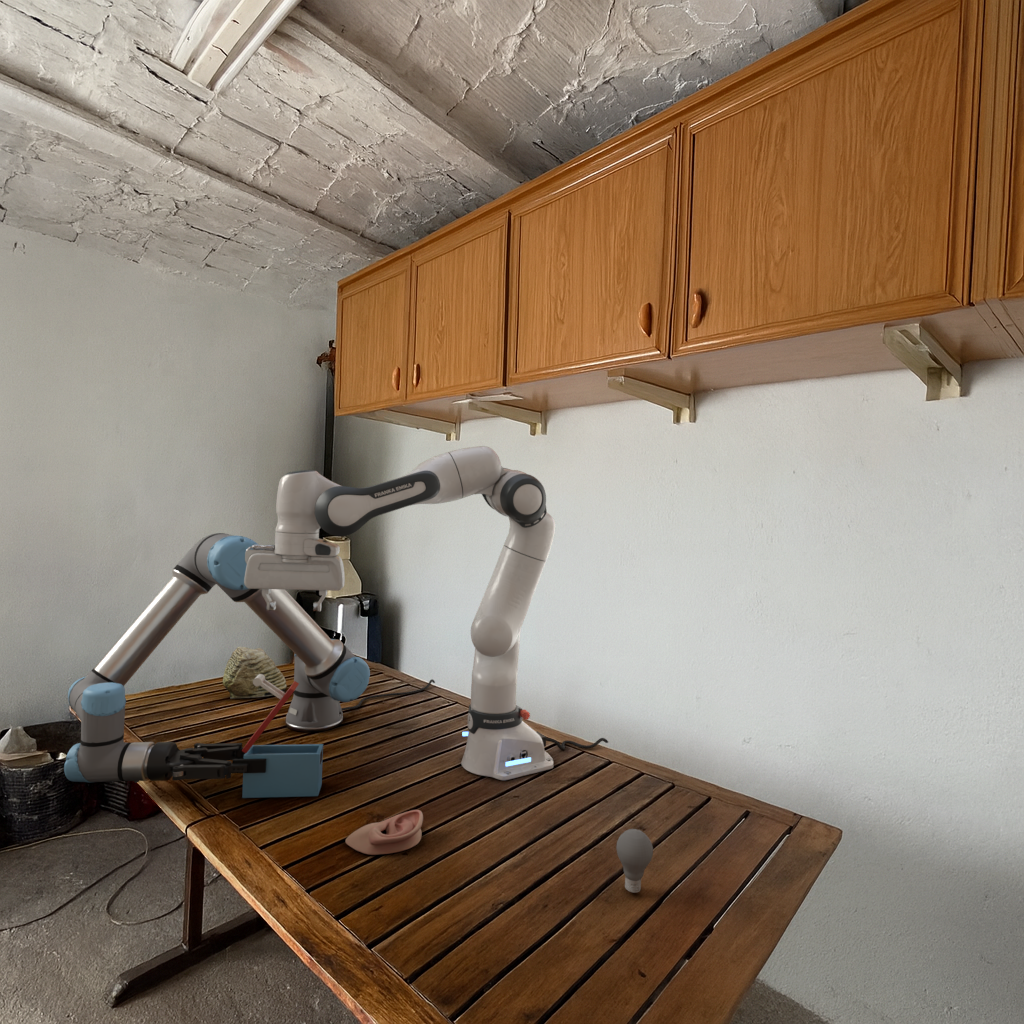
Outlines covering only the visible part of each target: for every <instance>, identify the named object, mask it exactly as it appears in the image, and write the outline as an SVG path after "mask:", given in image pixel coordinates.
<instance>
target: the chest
mask: <svg viewBox="0 0 1024 1024" xmlns="http://www.w3.org/2000/svg"><path fill="white" fill-rule="evenodd" d="M244 759H266V772H265V773H242V797H241V799H255V798H257V799H258V798H262V799H263V798H295V797H296V798H297V797H318V796H319V794H320V791H321V788H322V785H323V764H324V763H323V761H324V760H323V759H324V744H323V743H304V744H300V743H299V744H253V745H252V747H251V748H250V749H249V750H248V752H247V753H245V754H244Z"/></svg>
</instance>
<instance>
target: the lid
mask: <svg viewBox="0 0 1024 1024" xmlns="http://www.w3.org/2000/svg"><path fill="white" fill-rule="evenodd" d="M253 684H254V685H255V686H261V687H263V688H264V689H266V690H267V691H269V692H270V693H272V694H273V695H272V696H274V697H276V698H277V699H278V700H279V701H278V702H277V704H275V706H274V707H273V708H272V710H271V711H270V712H269V713H268V715H267V716H266V718H264V720H263V721H262V722H261V724H260V725H259V727H258V728H257V729H256V731H254V733H253V735H251V737H250V738H249V739H248V741H247V742H246V744H245V745H244V747H242V748H243V750H242V751H243V752H244V753H247V752H248V750H249V749H250V748H251V747H252V745H255V743H256V741H257V740H258V739H259V738H260V736H261V735H262V734H263V732H264V731H265V730H266V728H267V727H268V726H269V725H270V723H271V722H272V721H273V720H274V718H275V717H276V716H277V714H278V713H279V712H280V711H281V709H282V708H283V706H285V704H286V702H288V700H289V698H290V697H291V696H293V694H294V691H295V689H296V688H297V686H298V684H299V683H297V682H296V681H294V680H293V682H292V684H291V685H290V686H289V687H288V689H287V690H286V691H284V692H283V691H281V690H280V689H279V688H277V687H276V686H274V685H273V684H271V683H270V682H268V681H267V680H265V676H264V675H263V674H259V675H258V676H257V677H256V678H255V679H254V680H253Z"/></svg>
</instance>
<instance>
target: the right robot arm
mask: <svg viewBox="0 0 1024 1024" xmlns="http://www.w3.org/2000/svg"><path fill="white" fill-rule="evenodd" d="M473 495H481V497H483V499H484V501H485V502H486V504H487V505H488V506H489V507H490V508H491V509H492V510H494V511H496V512H497V513H498V514H499V515H502V516H504V517H506V518H507V517H508V520H509V529H508V533H507V536H506V539H505V541H504V543H503V545H502V549H501V551H500V554H499V556H498V558H497V562H496V564H495V567H494V569H493V571H492V575H491V577H490V580H489V581H488V585H487V586H486V588H485V591H484V593H483V596H482V598H481V601H480V603H479V606H478V608H477V611H476V613H475V615H474V618H473V621H472V624H471V627H470V639H471V642H472V645H473V647H474V656H473V664H472V671H471V689H470V703H469V705H468V713H467V730H468V731H462V733H461V734H462V735H461V736H462V737H467V738H466V745H465V749H464V753H463V756H462V758H461V762H460V765H461V767H462V768H463V769H464V770H465V771H467V772H469V773H472V774H474V775H478V776H482V777H490V778H493V779H496V780H500V781H509V780H512V779H516V778H520V777H524V776H529V775H532V774H536V773H542V772H544V771H549V770H552V769H553V768H554V767H555V765H554V763H555V762H554V758H553V757H552V756H551V755H550V754H549V753H548V752H547V751H546V750H545V747H547V742H550V743H553V744H555V745H556V746H557V747H558V749H560V750H561V751H564V750H565V749H566V745H572V746H575V747H578V748H580V749H585V750H589V749H593V748H596V747H597V746H598V745H599V744H600V743H602V742H604V743H605V744H608V743H609V741H608V740H607V738H605V737H600V738H598V739H597V740H595V742H594V743H592V744H587V745H585V744H581V743H578V742H575V741H574V740H563V741H562V742H561V743H560V742H559V741H557V740H556V739H554V738H551V737H547V736H545V735H544V734H542V733H541V732H539V731H538V730H537V731H536V730H534V728H533V727H531V726H530V725H528V724H527V723H526V722H525V721H527V720H529V719H530V718H531V713H530V712H529V711H528V710H527V709H523V708H522V707H521V706H519V705H517V693H518V691H517V690H518V673H519V671H518V670H519V661H520V659H519V658H520V644H521V630H522V628H523V627H522V626H523V624H524V621H525V619H526V616H527V614H528V611H529V608H530V606H531V603H532V600H533V597H534V595H535V593H536V590H537V587H538V584H539V582H540V580H541V576H542V574H543V571H544V569H545V566H546V563H547V560H548V559H549V555H550V553H551V549H552V546H553V542H554V538H555V537H554V536H555V532H556V521H555V519H554V518H553V516H552V515H551V514H550V513H548V512H547V494H546V489H545V488H544V486H543V483H542V482H541V481H540V480H539V479H538V478H536V476H534V475H531V474H528V473H526V472H524V471H522V470H518V469H510V468H507V467H503V465H502V463H501V459H500V457H499V455H498V454H497V452H496V451H495V450H494V449H493V448H491V447H490V446H486V445H480V446H470V447H464V448H458V449H455V450H454V449H453V450H450V451H447V452H443V453H440V454H438V455H434V456H431V457H430V458H428V459H426V460H424V461H422V462H420V463H419V464H418V465H416V466H415V467H414V468H412V470H411V471H410V472H407V473H406V474H405V475H402V476H400V477H397V478H394V479H390V480H387V481H383V482H380V483H377V484H374V485H370V486H365V487H352V486H347V485H346V486H345V485H342V484H341V485H340V484H338V483H336V482H335V481H332V480H330V479H329V478H326V477H325V476H324V475H322V474H321V473H319V472H318V471H317V470H315V469H303V470H293V471H289V472H287V473H285V474H284V475H282V476H281V478H279V482H278V487H277V493H276V507H275V512H276V515H277V524H276V526H275V530H274V534H275V535H274V544H264V545H263V544H259V543H257V544H256V545H253V546H251V547H249V548H248V549H247V550H246V552H245V562H246V564H247V566H246V571H245V578H244V584H245V586H246V587H247V588H248V589H262V596H263V597H264V599H265V601H266V602H267V610H275V609H276V606H275V605H276V601H272V600H271V598H270V596H269V593H271V589H285V590H286V591H287V590H291V591H292V590H293V591H318V595H319V596H320V598H319V600H318V601H314V602H313V603H312V604H313V605H312V606H313V609H312V611H313V612H321V611H322V603H323V602H324V600H325V598H326V597H327V595H328V591H334V592H335V591H336V592H339V591H341V590H342V589H343V588H344V587H345V579H346V577H345V567H344V566H345V565H344V561H343V559H342V557H341V556H340V551H341V547H340V545H339V544H338V543H334V542H331V541H329V540H326V539H323V538H320V529H322V530H323V531H324V532H326V533H327V534H329V535H332V536H335V537H346V536H349V535H353V534H354V533H356V532H357V531H360V529H361V528H362V527H364V525H366V524H367V523H368V522H369V521H371V520H372V519H374V518H376V517H378V516H382V515H385V514H388V513H391V512H394V511H398V510H400V509H403V508H404V509H405V508H407V507H411V506H415V505H439V504H445V503H451V502H455V501H458V500H462V499H464V498H468V497H470V496H473ZM258 544H259V545H258ZM251 548H253V549H254V550H249V549H251ZM523 720H524V721H523Z"/></svg>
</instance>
